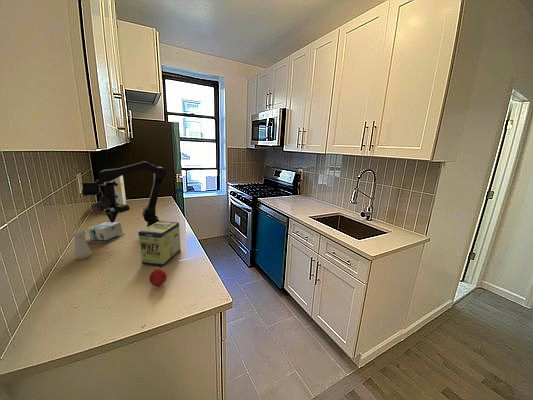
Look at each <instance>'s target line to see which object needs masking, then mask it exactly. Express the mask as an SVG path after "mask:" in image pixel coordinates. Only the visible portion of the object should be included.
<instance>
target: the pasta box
mask: <svg viewBox="0 0 533 400" xmlns="http://www.w3.org/2000/svg"><path fill="white" fill-rule="evenodd" d="M113 181H115V182H117V183H118V186H114V187H115V194H116V195H118V197H117V198H116V202H117V203H119V205H122V204H123V205H127V197H126V190H125V182H124V175H122V176H120V177H118V178H116V179H114V180H112V181H110V182H113ZM103 184H106V182H104V183H103ZM119 205H117V206H119Z"/></svg>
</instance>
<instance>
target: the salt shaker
mask: <svg viewBox="0 0 533 400" xmlns="http://www.w3.org/2000/svg"><path fill="white" fill-rule="evenodd" d="M72 236H73V237H74V257H75V258H76V259H77V260H80V261H81V260H85V259H88V258H89V257H90V255H91V248H90V246H89V245H88V242H87V241H86V240H87V239H86V237H85V236H86V231H85V230H84V229H78V230H75V231H73V232H72Z"/></svg>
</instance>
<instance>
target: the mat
mask: <svg viewBox="0 0 533 400" xmlns="http://www.w3.org/2000/svg"><path fill="white" fill-rule="evenodd" d="M124 235H125V233H121V234H119V235H117V236H114V237H112V238H110V239H108V240H91V239H90V238H87V239H86V241H87V243H93V244H99V245H104V244H107V243H109V242H111V241H113V240H115V239H117V238H120V237H122V236H124Z"/></svg>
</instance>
